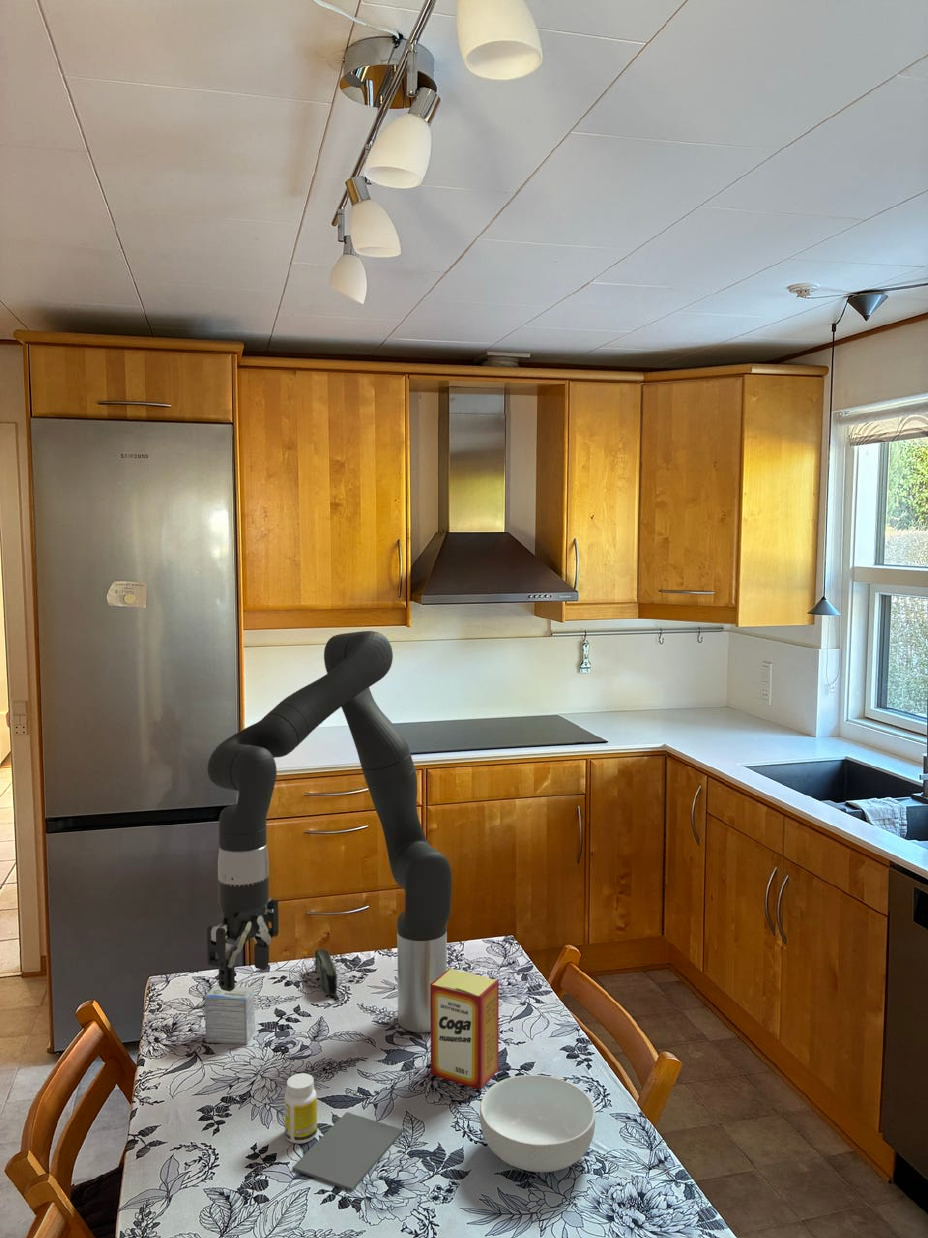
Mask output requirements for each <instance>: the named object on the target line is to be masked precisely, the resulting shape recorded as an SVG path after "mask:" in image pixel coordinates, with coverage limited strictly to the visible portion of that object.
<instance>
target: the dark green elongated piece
mask: <svg viewBox="0 0 928 1238" xmlns="http://www.w3.org/2000/svg"><path fill="white" fill-rule="evenodd" d="M314 957H315V958H314V961H315V962H314V963H315V964H314V967H315V972H316V974H317V976H318V978H319V980H320V982H321V989H322V991H323V992H324V993H325V994H326V995H329V996H330V995H331V996H334V998H335V999H336V1000H337V1001H338V1000H340V996H339V995H338V983H339V981H338V974H337V967H336V965H335V962H334V961H333V960H332V957H331V955H330V953H329V952H328V950H326V949H316V950H315V953H314Z"/></svg>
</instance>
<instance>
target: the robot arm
mask: <svg viewBox="0 0 928 1238" xmlns="http://www.w3.org/2000/svg"><path fill="white" fill-rule="evenodd" d="M393 658H394V654H393V648H392V645H391V643H390V642H389V639H388V638H387V637H386V636H385V635H383V634H382V633H380V632H378V631H373V630H365V631H364V630H361V631H355V632H352V631H351V632H347V633H339V634H335V635H332V636H331V637H330V638H329V639H328V640H327V642H326V644H325V647H324V652H323V661H324V667H325V671H326V674H325V675H323V676H321V677H320V678H318V679H316V680H315V681H312V682H311V683H308V684H307V685H305V686H304V687H301V688H299V689H298V690H296V691H295V692H293V693H291V694H290V695H288V696H287V697H285V698H284V699H283V700H281V701H280V702H279V703H278V704H277V705H276V706H275V707H273V709H271V710H270V711H269V712H268V713H267V714H266V715H264V716H263V717H262V719H260V720H258V721H257V722H256V723H253V724H251V725H249V726H247V727H245V728H243V729H241V730H240V731H238V732H236V733H235V734H233V735H231V736H230V737H227V738H226V739H225V740H223V741H222V742H221V743H220V744H218V746H216V747H215V749H214V750H213V751H212V753H211V755H210V757H209V759H208V762H207V767H206V768H207V769H206V771H207V775H208V778H209V781H211V782H212V784H214V785H215V786H217V787H218V788H219V787H220V788H222V789H225V790H230V791H235V792H238V796H237V797H238V799H237V802H236V803H235V804H232V805H228V806H226V807H225V808H223V810H221V811H220V814H219V819H218V833H219V834H218V842H219V843H218V844H219V848H218V849H219V850H218V858H217V889H218V892H217V893H218V894H217V895H218V899H217V900H218V906H219V908H220V909H221V911H222V912H223V916H222V920H221V923H220V924H218V925H216V926H214V925H209V926H208V928H207V929H206V939H207V940H206V941H207V942H206V943H207V947H206V948H207V949H206V950H207V951H206V952H207V955H206V956H207V965H208V966H209V967H215V968H217V969H218V986H220V988H221V989H222V990H225V991H229V992H230V991H232V990H233V989H234V988H235V987H236V986H235V982H236V981H235V976H236V975H235V963H236V959H237V956H238V955H239V953H241V952H242V950H243V947H244V944H245V943H247V942H248V941H249V940H250V939H253V940H254V942H255V944H254V945H253V948H254V949H253V957H254V959H253V960H254V967H255V968H256V969H259V970H262V971H265V970H266V969H268V968H269V961H270V945H271V944H272V939H273V938H274V937H275V938H277V936H278V935H279V933H280V931H279V929H280V928H279V900H278V899H274V898H271V897H270V883H269V882H270V878H269V877H270V876H269V874H270V872H269V871H270V869H269V867H270V866H269V863H270V862H269V852H268V847H267V844H268V843H267V842H268V841H267V817H268V811H269V809H270V805H271V802H272V800H271V799H272V797H273V793H274V789H275V785H276V783H277V773H278V772H277V771H278V770H277V763H276V760H275V759H276V758H282V757H283V758H284V757H285V756H288V755H289V754H290V753H291V752H293V751H294V750H295V749H296V748H297V747H298V746H299V745H300V744H301V743H302V742H304V740H305V739H307V738H308V736H309V735H311V733H312V732H313V731H314V730H316V728H318V727H319V726H320V725H322V724H323V723H324V721H326V719H328V718H329V717H330V716H332V714H334V713H336V711H338V710H340V709H342V712H343V714H344V718H345V720H346V722H347V725H348V728H349V729H348V730H349V732H350V734H351V738H352V740H353V743H354V746H355V748H356V752H357V755H358V760H359V764H360V767H361V770H362V773H363V777H364V780H365V784H366V787H367V788H368V792H369V794H370V798H371V800H372V802H373V803H372V804H373V806H374V809H375V811H376V815H377V817H378V820H379V822H380V824H381V828H382V832H383V836H384V841H385V846H386V852H387V856H388V862H389V867H390V871H391V874H392V877H393V879H394V880H395V882H396V884H397V885H398V886H399V887H400V888H401V889H403V890H404V891H405V897H404V898H405V899H404V911H403V912H401V913H400V914H399V916H398V917H397V920H396V921H397V923H396V926H397V927H396V928H397V929H396V930H397V931H396V934H397V935H396V936H397V937H396V938H397V939H396V941H397V943H396V944H397V946H396V947H397V1022H398V1025H399V1026H400V1027H401V1028H402V1029H404V1030H406V1031H409V1032H413V1033H431V1018H430V984H431V983H432V982H434V981H435V980H436V979H437V978H438V977H440V976H441V975H442V974H443V973H445V972H446V971H447V970H448V961H447V960H448V957H447V955H448V953H447V952H448V944H447V943H448V942H447V937H448V933H447V932H448V930H447V929H448V927H447V926H448V921H449V919H450V915H451V912H452V894H453V892H452V890H453V889H452V887H453V874H452V868H451V865H450V862H449V861H450V860H448V858H447V856H445V855H444V854H442V853H441V852H440V851H438V850H437V849H435V848H434V847H432V846H431V844H430V843H429V842H428V840H427V837H426V835H425V833H424V829H423V826H422V824H421V822H420V818H419V815H418V808H417V807H418V806H417V805H418V804H417V800H418V799H417V797H418V779H417V778H418V777H417V773H416V771H417V770H416V767H415V764H414V761H413V757H412V754H411V751H410V747H409V744H408V742H407V741H406V739H405V738H404V736H403V734H402V733H401V732H400V730H398V728H397V727H396V726H395V724H394V723H393V722H392V721H391V720H390V719H389V718H388V716H386V714H385V713H384V712H383V711H382V710H381V709H380V707H379V706H378V704H377V702H376V701H375V698H374V697H373V696H374V695H373V694H372V691H371V688H370V687H372V686H373V685H375V684H376V683H378V682H379V681H381V680H382V679H383V678H384V677H385V676H386V675H387V674H388V673H389V671H390V669H391V668H392V664H393V660H394V659H393ZM269 924H271V927H269V926H270V925H269ZM229 940H230V941H231V942H233V943H234V944H230V943H229ZM228 951H230V952H229V955H228V958H227V953H228ZM216 954H217V957H216Z"/></svg>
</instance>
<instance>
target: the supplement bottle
mask: <svg viewBox="0 0 928 1238" xmlns="http://www.w3.org/2000/svg"><path fill="white" fill-rule="evenodd" d="M317 1100H318V1097H317V1091H316V1089H315V1081H314V1077H313V1076H312V1074H309V1073H304V1072H303V1073H297V1074H293V1075H292V1076H290V1077H288V1079H287V1081H286V1093H285V1094H284V1134H285V1135H284V1136H285V1138H286V1140H287V1141H289V1142H290V1143H293V1144H297V1145H298V1144H301V1145H302V1144H306V1143H308V1142H310V1141H312V1140H313V1139H315V1138H316V1136H317V1134H318V1133H317V1132H318V1112H317V1111H318V1107H317V1106H318V1101H317Z"/></svg>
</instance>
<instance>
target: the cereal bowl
mask: <svg viewBox="0 0 928 1238" xmlns="http://www.w3.org/2000/svg"><path fill="white" fill-rule="evenodd" d="M479 1109H480V1110H479V1120H480V1128H481V1133H482V1136H483V1139H484V1141H485V1142H486V1143H487V1145H488V1147H489V1148H490V1150H491V1151H492V1152H493V1154H495V1155H496V1156H497V1157H498V1158H499V1159H500V1160H502V1161H503V1162H505V1164H508V1165H510V1166H512V1167H514V1168H517V1169H519V1170H523V1171H527V1172H531V1173H532V1172H534V1173H551V1172H557V1171H560V1170H564V1169H566V1168H568V1167H570V1166H572V1165H574V1164H575V1163H576V1162H578V1161H579V1160H580V1159H582V1157H584V1155H585V1154H586V1152H587V1151H588V1150H589V1149H590V1147H591V1144H592V1142H593V1139H594V1134H595V1129H596V1128H595V1127H596V1109H595V1105H594V1102H593V1101H592V1099H591V1098H590V1097H589V1095H588V1094H587V1093H586V1092H585V1091H584V1090H582V1089H581V1088H580V1087H578V1086H576V1085H574V1084H573V1083H571V1082H570V1081H569V1082H568V1081H566V1080H565V1079H564V1080H563V1079H560V1078H557V1077H553V1076H549V1075H541V1074H523V1075H522V1074H521V1075H517V1076H511V1077H508V1078H504V1079H502V1080H500V1081H497V1082H496V1083H494V1084H493V1085H491V1086H490V1088H488V1089H487V1090H486V1091H485V1092H484V1095H483V1096H482V1098H481V1102H480V1108H479Z"/></svg>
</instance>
